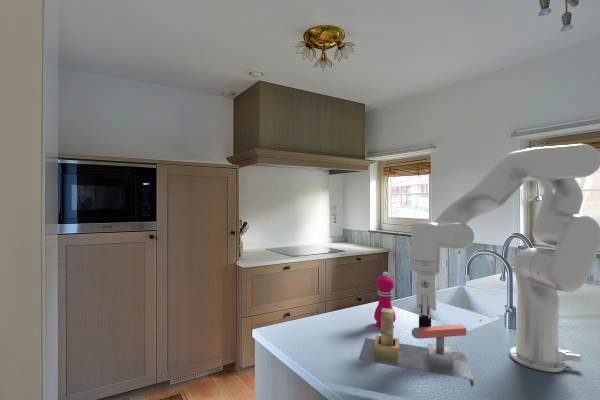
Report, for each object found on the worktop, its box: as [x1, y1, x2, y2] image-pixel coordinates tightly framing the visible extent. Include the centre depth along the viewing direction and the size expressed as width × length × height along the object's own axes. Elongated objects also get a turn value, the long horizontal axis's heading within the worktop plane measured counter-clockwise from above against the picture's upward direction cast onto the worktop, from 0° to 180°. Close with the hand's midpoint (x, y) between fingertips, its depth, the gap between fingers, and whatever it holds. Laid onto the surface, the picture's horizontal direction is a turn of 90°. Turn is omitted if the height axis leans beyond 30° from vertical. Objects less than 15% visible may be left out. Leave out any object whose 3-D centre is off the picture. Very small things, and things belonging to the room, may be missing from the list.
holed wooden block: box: [374, 334, 400, 360], centre depth 91 cm, size 7×7×3 cm
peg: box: [380, 308, 395, 346], centre depth 91 cm, size 3×3×12 cm
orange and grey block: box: [411, 324, 467, 352], centre depth 86 cm, size 15×3×6 cm, turn 100°
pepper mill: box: [373, 271, 397, 330], centre depth 110 cm, size 7×7×20 cm
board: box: [358, 337, 475, 385], centre depth 89 cm, size 28×14×4 cm, turn 71°
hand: (424, 330), depth 89 cm, fingers closed
